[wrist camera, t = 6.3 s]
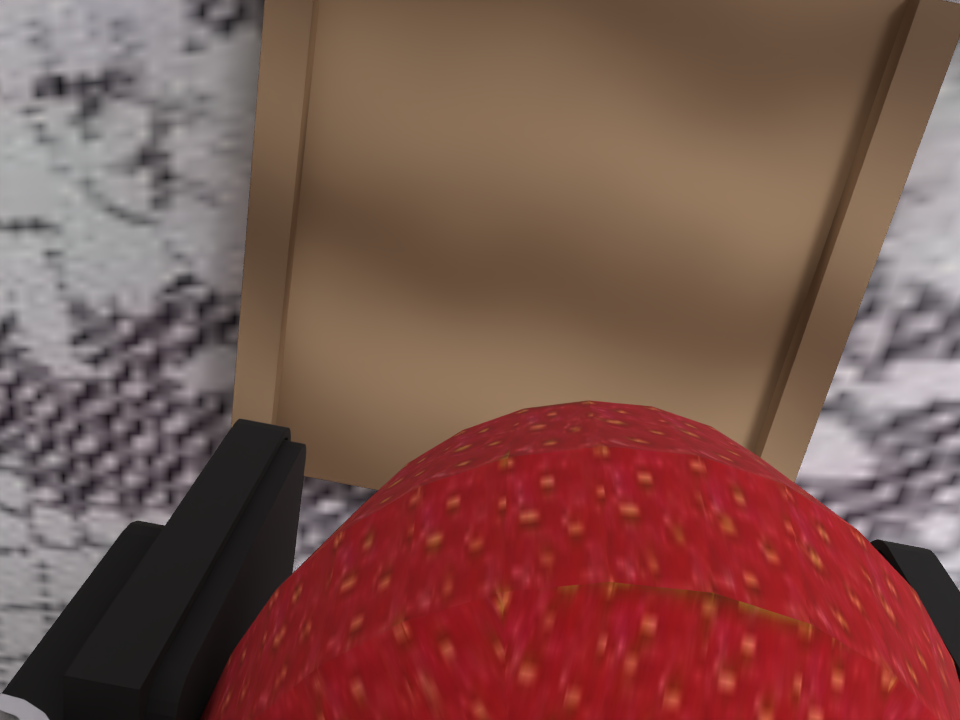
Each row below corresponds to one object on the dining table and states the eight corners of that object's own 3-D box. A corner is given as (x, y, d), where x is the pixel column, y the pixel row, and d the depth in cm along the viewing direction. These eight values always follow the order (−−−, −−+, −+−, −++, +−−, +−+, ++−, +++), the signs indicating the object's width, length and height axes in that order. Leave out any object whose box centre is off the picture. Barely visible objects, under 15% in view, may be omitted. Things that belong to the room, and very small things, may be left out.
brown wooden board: (306, -120, 20) (274, -132, 18) (921, 0, 21) (970, 6, 18) (256, 427, 26) (227, 474, 24) (740, 520, 26) (759, 575, 24)
